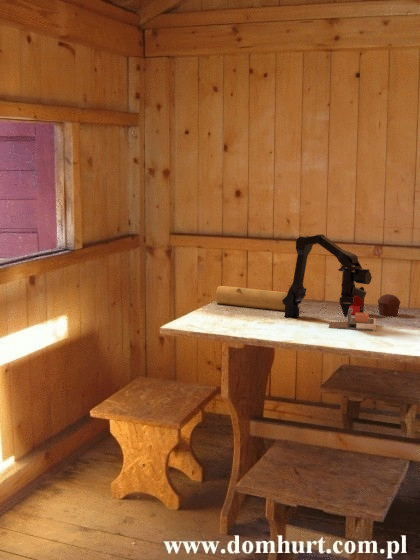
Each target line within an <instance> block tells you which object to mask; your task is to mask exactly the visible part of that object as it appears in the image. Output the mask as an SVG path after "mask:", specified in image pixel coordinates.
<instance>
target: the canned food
mask: <svg viewBox="0 0 420 560" xmlns="http://www.w3.org/2000/svg"><path fill="white" fill-rule="evenodd" d="M364 309H365V298H364V299H361V298H360V297H358V296H356V295H355V297H354V301H353V304H352V305H351V306H350V307H349V310H352V312H351V316H354V317H355V313H365V312H364V311H365V310H364ZM348 312H349V311H348Z"/></svg>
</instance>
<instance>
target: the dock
mask: <svg viewBox="0 0 420 560" xmlns="http://www.w3.org/2000/svg"><path fill="white" fill-rule="evenodd" d="M368 319H371V321H370V324H366V323H356V324H353V326H350V325H349V324H348V320H346V321H345V320H344V321H330V322H329V325H328V329H337V330H352V331H365V332H366V331H369V332H376V326H377V319H376V318H374V317H373V318H372V317H371V318H370V317H368Z"/></svg>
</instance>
